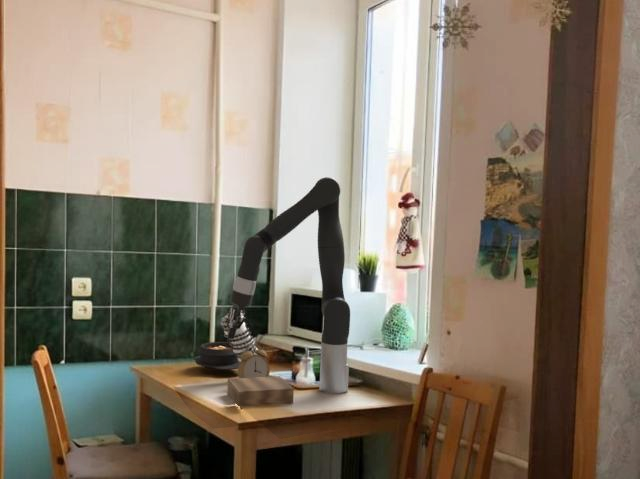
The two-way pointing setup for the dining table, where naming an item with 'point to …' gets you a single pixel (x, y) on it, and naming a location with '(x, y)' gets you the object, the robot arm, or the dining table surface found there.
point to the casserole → (217, 356)
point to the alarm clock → (253, 364)
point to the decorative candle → (239, 338)
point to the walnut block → (260, 391)
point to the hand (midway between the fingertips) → (230, 338)
